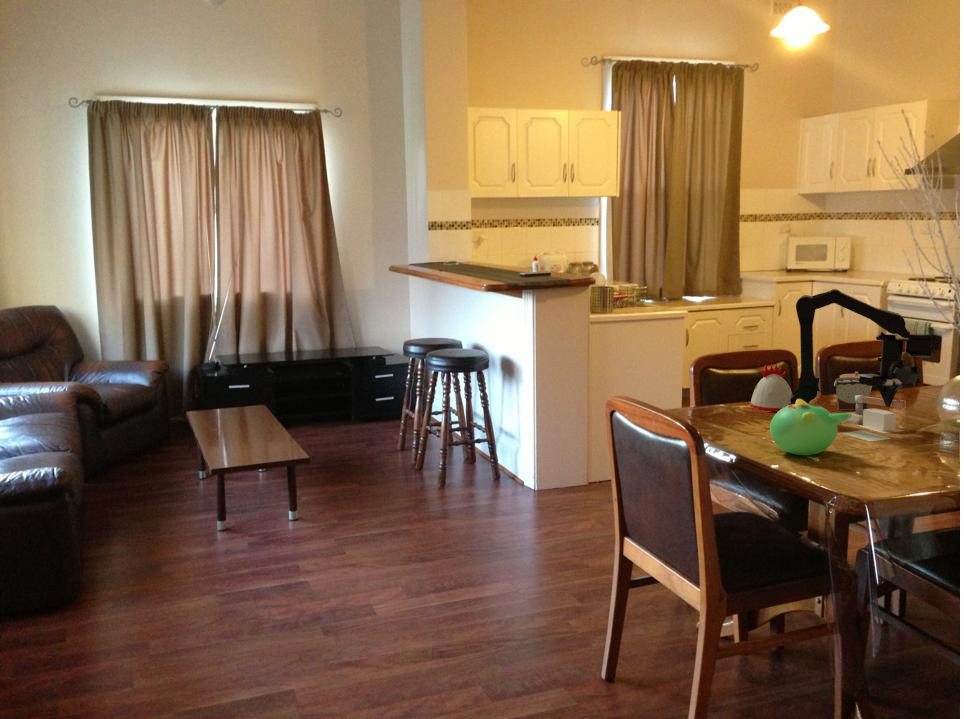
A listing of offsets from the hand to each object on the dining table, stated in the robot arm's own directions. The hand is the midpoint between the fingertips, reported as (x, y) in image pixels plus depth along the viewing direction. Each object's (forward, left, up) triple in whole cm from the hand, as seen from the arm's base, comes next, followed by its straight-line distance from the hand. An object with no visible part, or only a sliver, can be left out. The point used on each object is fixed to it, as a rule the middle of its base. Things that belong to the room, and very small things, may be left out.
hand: (887, 406), depth 268 cm
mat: (-13, -5, -7) cm, 15 cm away
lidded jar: (+26, +39, -7) cm, 47 cm away
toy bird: (-42, -12, -7) cm, 44 cm away
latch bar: (+1, +4, 0) cm, 4 cm away
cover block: (-2, +1, -7) cm, 7 cm away
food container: (+12, +27, -7) cm, 31 cm away
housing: (-2, +4, -7) cm, 8 cm away
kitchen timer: (-11, +38, -7) cm, 40 cm away
